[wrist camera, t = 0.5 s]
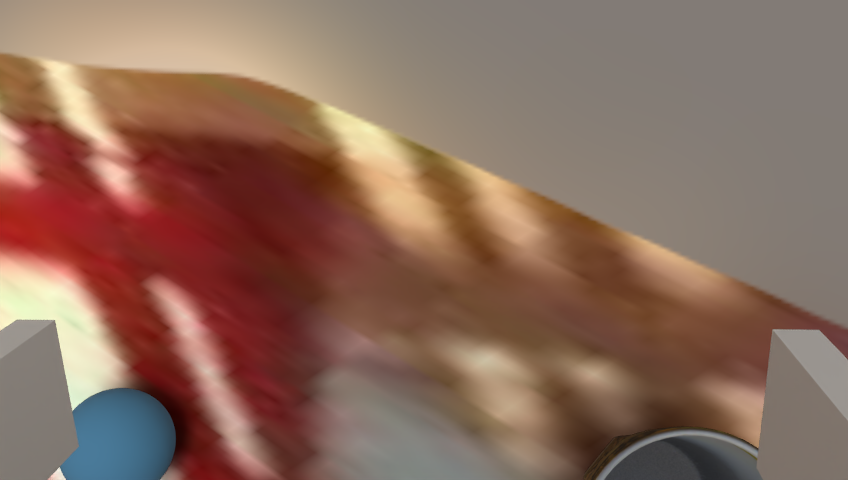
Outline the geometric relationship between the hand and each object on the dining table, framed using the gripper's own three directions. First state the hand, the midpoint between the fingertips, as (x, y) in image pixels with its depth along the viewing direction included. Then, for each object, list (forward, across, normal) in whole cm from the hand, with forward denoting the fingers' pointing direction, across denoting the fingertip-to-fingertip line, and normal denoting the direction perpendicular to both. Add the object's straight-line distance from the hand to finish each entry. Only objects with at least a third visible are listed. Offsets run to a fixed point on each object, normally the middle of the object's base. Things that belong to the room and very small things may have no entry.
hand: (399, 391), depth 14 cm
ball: (+22, +19, +16) cm, 33 cm away
